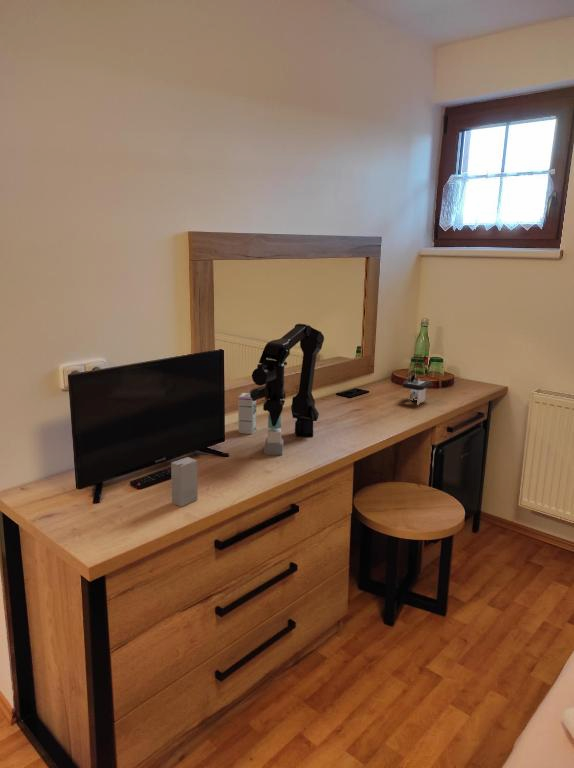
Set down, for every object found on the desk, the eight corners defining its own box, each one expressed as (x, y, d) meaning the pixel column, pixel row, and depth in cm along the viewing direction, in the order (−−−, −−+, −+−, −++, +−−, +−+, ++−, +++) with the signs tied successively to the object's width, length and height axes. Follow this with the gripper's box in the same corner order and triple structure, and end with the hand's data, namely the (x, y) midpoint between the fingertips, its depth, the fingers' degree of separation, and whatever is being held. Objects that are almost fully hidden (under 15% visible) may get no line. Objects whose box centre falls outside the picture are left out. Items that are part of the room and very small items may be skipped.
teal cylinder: (281, 425, 201) (281, 414, 200) (280, 429, 197) (280, 417, 196) (268, 424, 201) (268, 413, 200) (267, 428, 197) (267, 417, 196)
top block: (281, 439, 202) (281, 428, 201) (280, 443, 198) (280, 432, 197) (268, 438, 203) (268, 427, 202) (267, 442, 198) (267, 431, 197)
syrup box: (253, 434, 218) (253, 397, 214) (237, 433, 219) (238, 396, 215) (256, 429, 223) (257, 393, 220) (241, 428, 224) (242, 392, 221)
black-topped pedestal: (399, 392, 287) (401, 366, 284) (451, 402, 273) (454, 374, 269) (374, 404, 265) (376, 376, 261) (429, 415, 250) (432, 385, 247)
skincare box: (187, 496, 164) (187, 455, 161) (198, 500, 162) (198, 460, 159) (170, 502, 160) (169, 461, 157) (181, 507, 157) (180, 466, 154)
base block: (283, 449, 204) (283, 438, 203) (282, 455, 198) (282, 444, 197) (266, 448, 204) (266, 437, 203) (264, 454, 198) (264, 443, 197)
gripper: (255, 372, 204) (254, 414, 208) (248, 385, 186) (247, 431, 190) (286, 373, 204) (285, 416, 208) (282, 386, 186) (281, 433, 190)
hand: (274, 423), depth 199 cm, fingers closed on teal cylinder, 4 cm apart
